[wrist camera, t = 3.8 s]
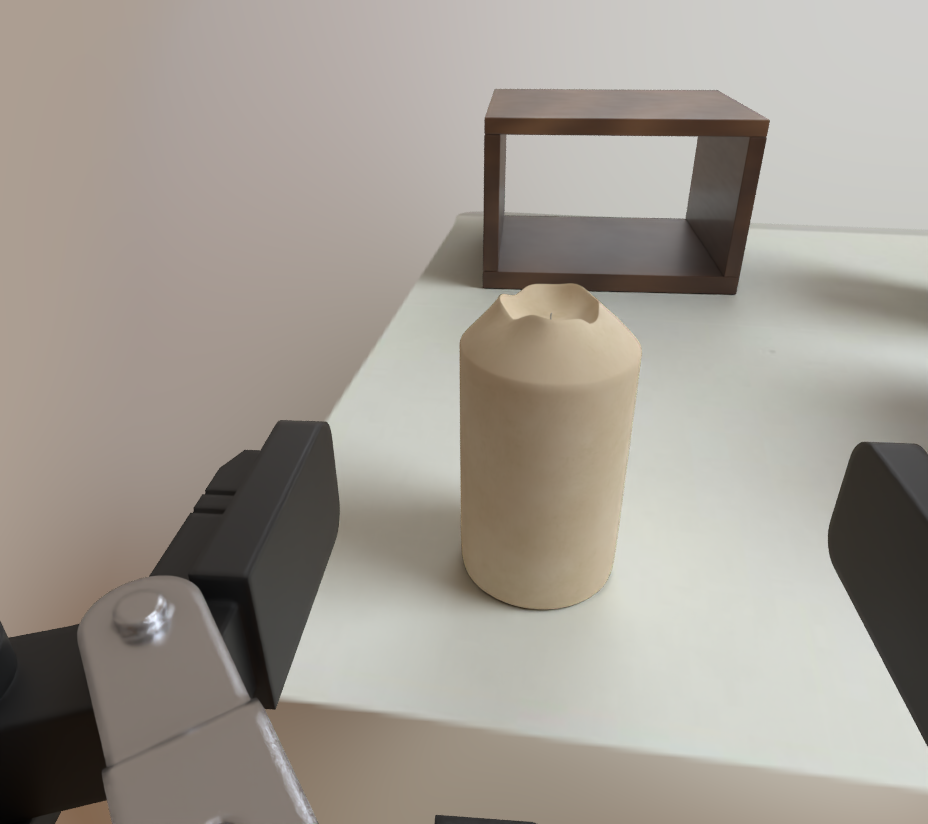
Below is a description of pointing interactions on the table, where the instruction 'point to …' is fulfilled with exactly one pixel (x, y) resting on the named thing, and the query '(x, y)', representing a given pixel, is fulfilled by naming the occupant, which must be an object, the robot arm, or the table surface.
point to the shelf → (627, 239)
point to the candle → (544, 444)
